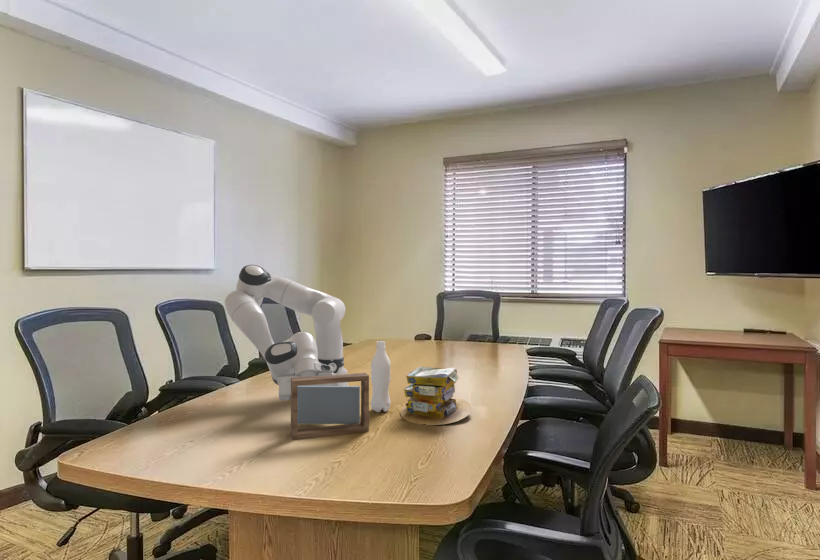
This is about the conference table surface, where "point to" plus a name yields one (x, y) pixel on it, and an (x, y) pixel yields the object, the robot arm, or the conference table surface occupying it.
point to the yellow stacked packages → (433, 397)
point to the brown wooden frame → (336, 428)
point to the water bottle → (380, 379)
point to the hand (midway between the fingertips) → (311, 408)
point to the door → (328, 404)
